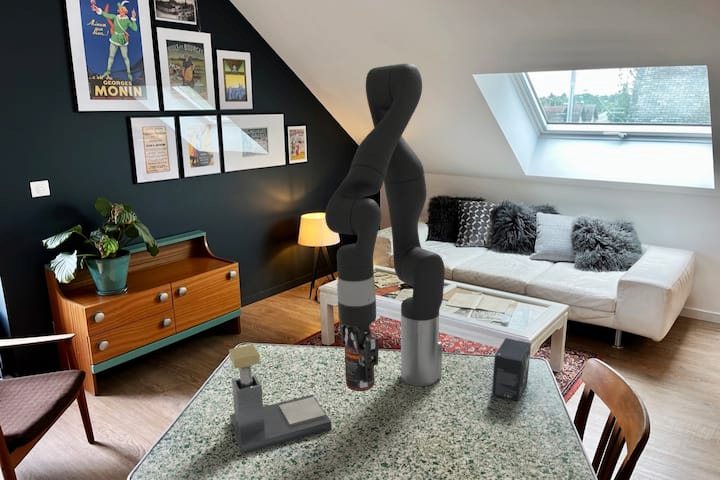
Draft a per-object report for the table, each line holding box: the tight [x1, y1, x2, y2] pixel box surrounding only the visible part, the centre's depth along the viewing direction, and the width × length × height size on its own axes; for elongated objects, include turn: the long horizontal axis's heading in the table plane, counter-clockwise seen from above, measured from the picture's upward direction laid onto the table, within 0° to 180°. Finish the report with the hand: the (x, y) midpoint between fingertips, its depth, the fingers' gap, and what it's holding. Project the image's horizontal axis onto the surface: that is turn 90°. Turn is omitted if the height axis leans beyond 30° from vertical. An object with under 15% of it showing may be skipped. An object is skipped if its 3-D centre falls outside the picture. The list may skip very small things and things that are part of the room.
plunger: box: [228, 344, 261, 389], centre depth 112 cm, size 5×5×12 cm
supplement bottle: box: [344, 335, 376, 392], centre depth 112 cm, size 6×6×11 cm
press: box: [229, 374, 332, 455], centre depth 117 cm, size 19×12×12 cm, turn 114°
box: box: [491, 337, 532, 402], centre depth 130 cm, size 11×7×10 cm, turn 152°
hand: (360, 373), depth 113 cm, fingers closed on supplement bottle, 6 cm apart
